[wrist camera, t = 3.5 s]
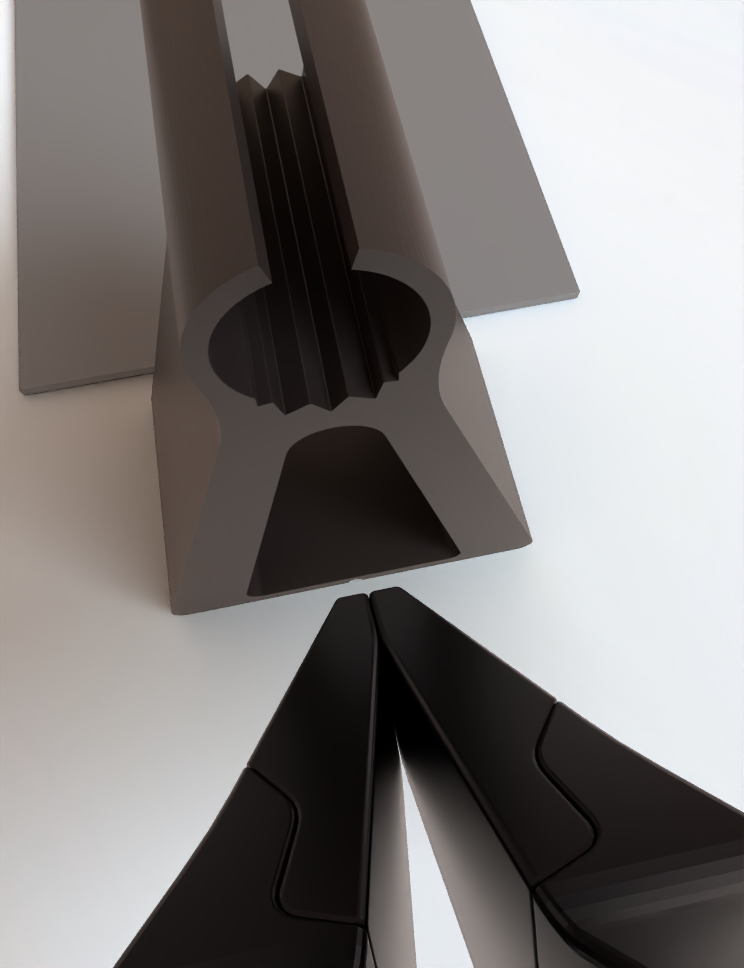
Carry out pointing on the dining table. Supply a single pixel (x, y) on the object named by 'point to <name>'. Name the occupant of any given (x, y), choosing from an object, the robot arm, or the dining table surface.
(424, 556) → the phone stand
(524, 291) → the mat
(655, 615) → the dining table surface
